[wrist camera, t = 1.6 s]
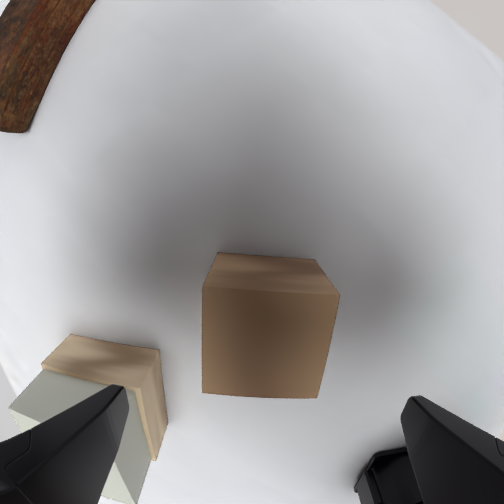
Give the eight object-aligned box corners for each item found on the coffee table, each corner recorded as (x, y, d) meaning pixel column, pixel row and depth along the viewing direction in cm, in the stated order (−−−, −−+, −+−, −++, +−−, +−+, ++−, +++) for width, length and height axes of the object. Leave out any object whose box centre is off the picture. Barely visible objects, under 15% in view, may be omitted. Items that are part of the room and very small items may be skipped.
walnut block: (314, 259, 16) (340, 295, 11) (301, 342, 17) (316, 398, 12) (218, 252, 16) (202, 285, 11) (214, 337, 17) (202, 393, 12)
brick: (65, -9, 11) (32, -36, 7) (104, -9, 12) (72, -43, 7) (-1, 123, 14) (-47, 120, 9) (31, 136, 14) (-20, 132, 9)
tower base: (160, 348, 17) (139, 388, 13) (168, 420, 19) (156, 461, 15) (71, 332, 17) (40, 363, 13) (90, 403, 19) (69, 437, 15)
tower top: (134, 390, 13) (107, 445, 9) (151, 458, 15) (136, 506, 11) (44, 368, 13) (8, 407, 9) (71, 436, 15) (48, 475, 11)
